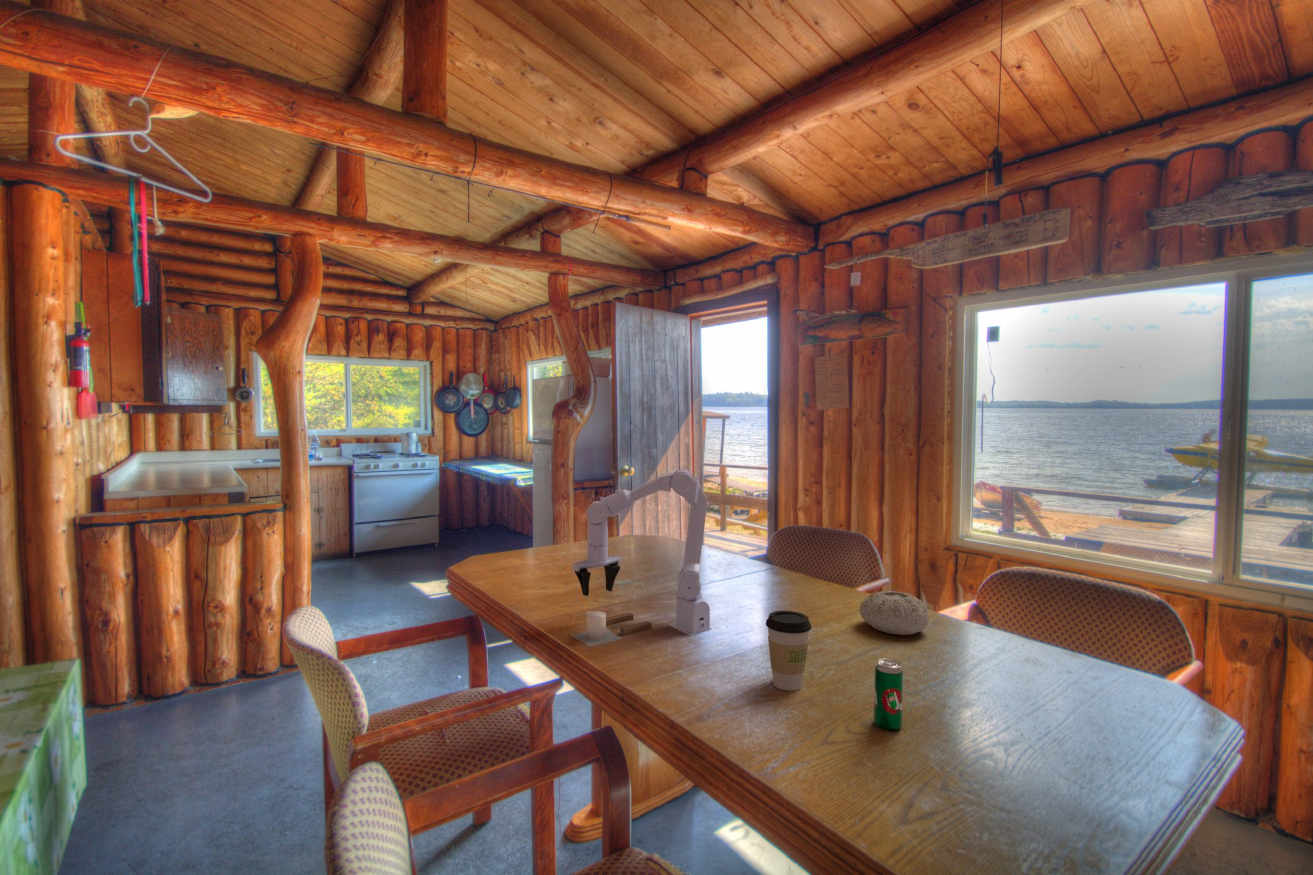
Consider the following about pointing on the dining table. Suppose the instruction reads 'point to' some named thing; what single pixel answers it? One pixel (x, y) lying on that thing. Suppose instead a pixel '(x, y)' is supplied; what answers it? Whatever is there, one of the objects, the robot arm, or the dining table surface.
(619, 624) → the walnut cradle
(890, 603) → the decorative shell
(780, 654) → the coffee cup
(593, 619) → the cream jug
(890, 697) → the soda can
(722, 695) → the dining table surface
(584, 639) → the grey mat
